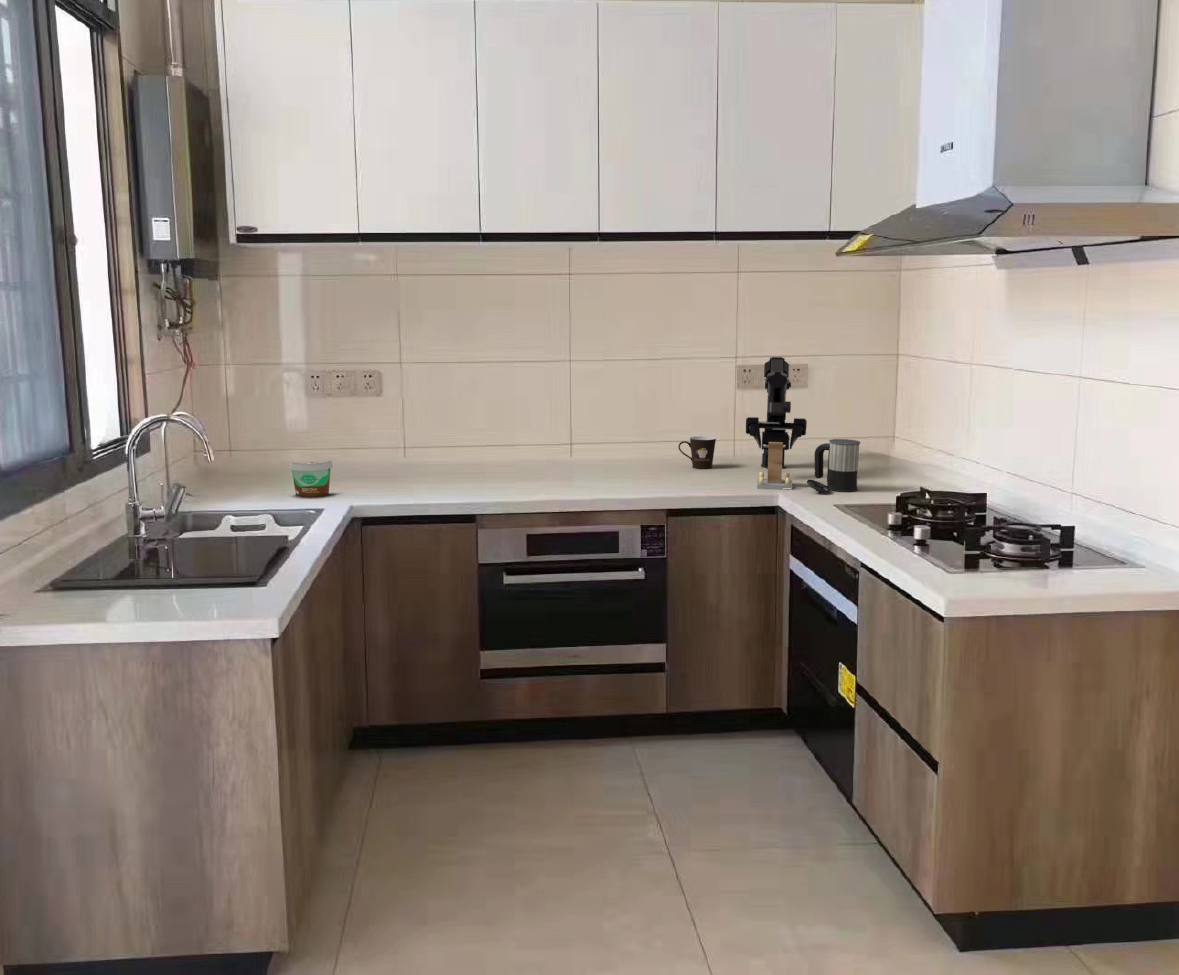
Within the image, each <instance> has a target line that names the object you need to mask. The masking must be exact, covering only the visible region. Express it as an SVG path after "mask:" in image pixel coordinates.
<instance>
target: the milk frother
mask: <svg viewBox="0 0 1179 975" xmlns="http://www.w3.org/2000/svg"><path fill="white" fill-rule="evenodd" d="M828 442H829V443H828ZM828 442H827V443H826V442H825V443H822V444H820V445H818V446H816V448H815V451H814V477H815V479H821V478H823V476H824V453H825V451H828V456H827V457H828V458H827V473H826V474H827V475H826V485H825V484H824V483H822V482H819V481H817V480H814V479H807V480H806V484H807V485H808V486H809V487H810V488H811V489H813V490H814V491H816V492H818V494H822V493H824V494H829V493H831V491H832V492H833V491H834V492H842V493H851V492H856V491H858V468H859V455H860V454H859V453H860V444H861V441H860V440H855V439H848V438H847V439H846V438H832V439H829V440H828Z"/></svg>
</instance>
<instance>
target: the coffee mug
mask: <svg viewBox="0 0 1179 975" xmlns="http://www.w3.org/2000/svg"><path fill="white" fill-rule="evenodd" d="M716 440H717V438H716V437H714V436H707V435H699V436H697V435H696V436H691V437H689V441H686V440H684V441H680V442H679V444H678V450H679V451H680V453H681V454H682V455H683V456H685V457H687V458H688V459H689V460H690V461H691V464H692V469H695V470H711V469H713V461H714V454H715V449H716V448H715V447H716ZM683 444H687V445H688V447H689V449H690V453H691V454H690V455H691V456H690V455H688V454H686V453H685V452H684V451H683V450H682V449H681V445H683Z"/></svg>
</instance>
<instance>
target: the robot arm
mask: <svg viewBox="0 0 1179 975" xmlns="http://www.w3.org/2000/svg"><path fill="white" fill-rule="evenodd" d="M763 368H764V369H763V372H764V373H763V378H764V377H766V378H764V390H766V393H767V401H766V402H767V403H766V404H767V407H766V408H767V409H766V421H760V420H759V417H757V416H755V417H753V416H752V417H751V416H748V417H746V419H745V434H746V435H749V436H750V437H753V439H754V440H755V441H756V443H757V445H758V447H759V449H761V450H762V451H763V453H761V454H762V455H761V457H762V459H761V460H762V461H761V464H760V466H761V467H763V468H766V469H768V447H769V442H783V455H782V469H786V468H787V466H785V454H786V453H785V451H788V450H792V448H793V446H794V445H795V442H796V441H797V440H798V438H801V437H802V436H806V434H807V424H808V422H807V419H806V418H800V417H799V418H798V417H794V418H793V422H786V419H787V418H786V417H787V416H786V415H787V414H791V411H792V410H791V409H792V408H791V407H792V406H791V405H792V403H791V401H786V398H787V397H786V395H787V391H789V389H790V388H792V382H791V381H790V379H789V377H790V364H789V363H788V361H785V357H782V356H772V357H769V360H768V361H766V362H765V363H764V367H763ZM760 429H764V431H761V430H760ZM787 430H789V431H790V430H791V435H789V433H788V431H787ZM761 433H762V434H761Z"/></svg>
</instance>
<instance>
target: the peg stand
mask: <svg viewBox="0 0 1179 975" xmlns="http://www.w3.org/2000/svg"><path fill="white" fill-rule="evenodd" d="M790 475H791V473H790V472H785V473H784V479H783V478H782V482H781V484H777V483H767V478H765V472H764V471H759V475H758V476H759V478H757V479H756V483H757V484H756V488H757V489H761V490H762V489H763V490H764V489H765V490H784V489H783V488H792V489H793V483H792V481H793V480H792V479H791V477H790Z"/></svg>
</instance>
